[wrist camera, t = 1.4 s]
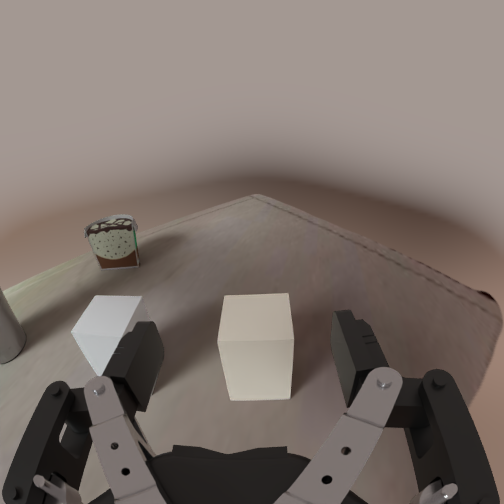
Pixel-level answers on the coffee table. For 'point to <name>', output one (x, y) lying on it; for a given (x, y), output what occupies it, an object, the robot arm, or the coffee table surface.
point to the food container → (114, 242)
